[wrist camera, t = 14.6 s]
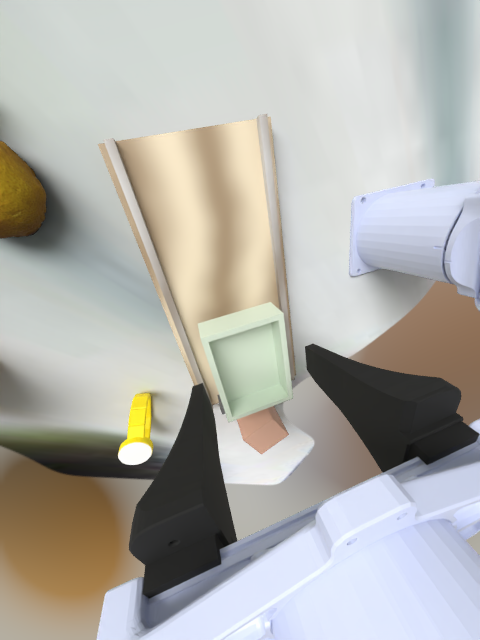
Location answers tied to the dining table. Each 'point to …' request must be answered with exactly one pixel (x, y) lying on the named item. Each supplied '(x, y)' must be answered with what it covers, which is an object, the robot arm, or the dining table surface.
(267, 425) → the block
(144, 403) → the watch
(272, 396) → the pale green open tray
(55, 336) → the dining table surface
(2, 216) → the fruit
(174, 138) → the track
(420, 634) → the robot arm
